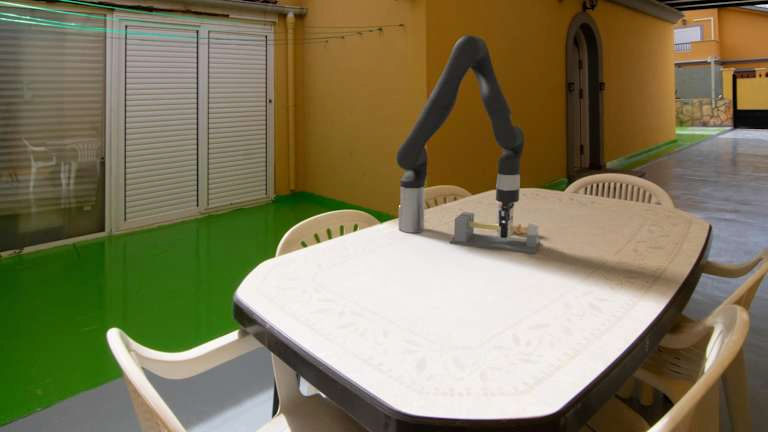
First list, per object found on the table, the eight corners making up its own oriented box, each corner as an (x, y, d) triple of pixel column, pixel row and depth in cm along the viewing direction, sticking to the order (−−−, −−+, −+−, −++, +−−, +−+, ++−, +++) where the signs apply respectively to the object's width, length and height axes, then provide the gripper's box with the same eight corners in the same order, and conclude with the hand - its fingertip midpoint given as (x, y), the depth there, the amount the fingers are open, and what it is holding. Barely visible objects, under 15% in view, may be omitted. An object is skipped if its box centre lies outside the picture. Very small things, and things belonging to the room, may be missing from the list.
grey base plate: (449, 243, 161) (449, 240, 161) (459, 234, 172) (459, 231, 171) (535, 253, 149) (535, 251, 149) (540, 243, 159) (540, 240, 159)
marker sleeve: (498, 236, 156) (498, 222, 155) (501, 232, 161) (501, 218, 160) (509, 237, 155) (510, 223, 154) (512, 233, 159) (513, 219, 158)
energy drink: (511, 233, 171) (513, 202, 168) (496, 233, 172) (498, 202, 169) (510, 229, 176) (512, 199, 173) (496, 229, 177) (497, 199, 174)
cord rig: (454, 240, 161) (454, 218, 159) (462, 232, 170) (463, 211, 168) (534, 250, 149) (535, 226, 147) (538, 240, 159) (540, 218, 157)
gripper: (501, 182, 161) (498, 228, 166) (492, 190, 149) (489, 240, 153) (522, 184, 158) (520, 231, 163) (515, 191, 146) (512, 242, 150)
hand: (505, 235), depth 158 cm, fingers closed on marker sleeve, 5 cm apart
